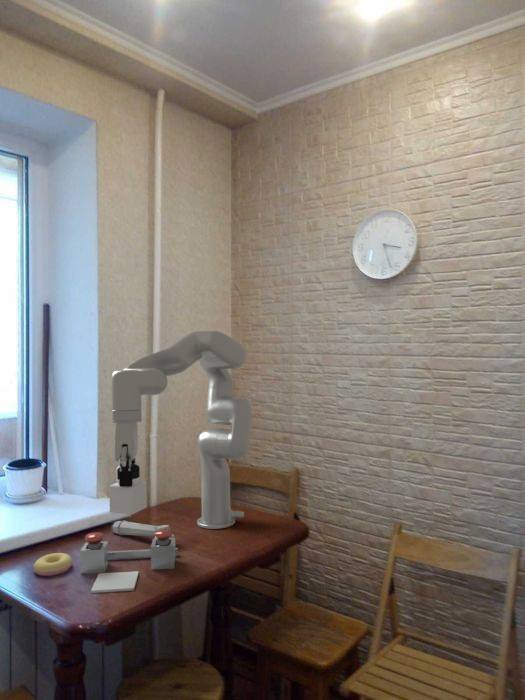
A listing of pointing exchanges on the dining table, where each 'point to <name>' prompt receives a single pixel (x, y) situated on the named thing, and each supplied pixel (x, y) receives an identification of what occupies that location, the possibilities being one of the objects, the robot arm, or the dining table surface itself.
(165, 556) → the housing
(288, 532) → the dining table surface
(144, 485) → the medicine bottle
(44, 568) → the donut
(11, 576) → the dining table surface
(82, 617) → the dining table surface
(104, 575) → the mat
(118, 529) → the grey piece
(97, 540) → the plunger
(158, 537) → the plunger
